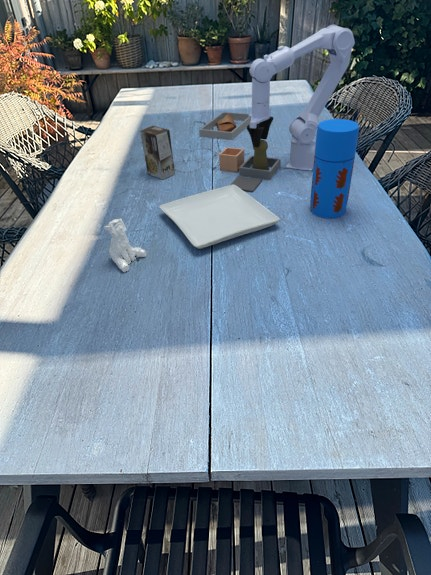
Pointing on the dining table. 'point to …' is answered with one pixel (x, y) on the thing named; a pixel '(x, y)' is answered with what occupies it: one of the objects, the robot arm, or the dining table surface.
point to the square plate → (218, 215)
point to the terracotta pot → (231, 159)
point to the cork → (260, 156)
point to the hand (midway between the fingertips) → (260, 142)
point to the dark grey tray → (209, 133)
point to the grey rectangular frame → (259, 173)
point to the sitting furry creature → (122, 245)
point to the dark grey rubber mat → (246, 183)
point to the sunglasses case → (226, 124)
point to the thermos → (333, 167)
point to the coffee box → (158, 151)
